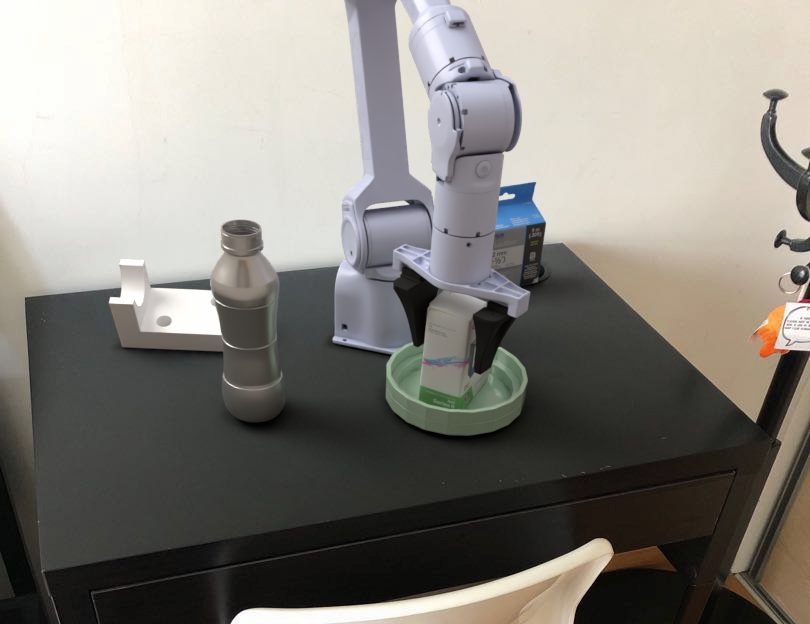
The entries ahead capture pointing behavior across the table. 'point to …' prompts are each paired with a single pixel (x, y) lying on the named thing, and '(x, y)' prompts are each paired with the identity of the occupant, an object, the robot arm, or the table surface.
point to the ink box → (450, 352)
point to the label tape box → (518, 236)
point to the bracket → (163, 314)
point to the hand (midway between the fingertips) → (451, 356)
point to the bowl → (481, 415)
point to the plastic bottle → (248, 324)
